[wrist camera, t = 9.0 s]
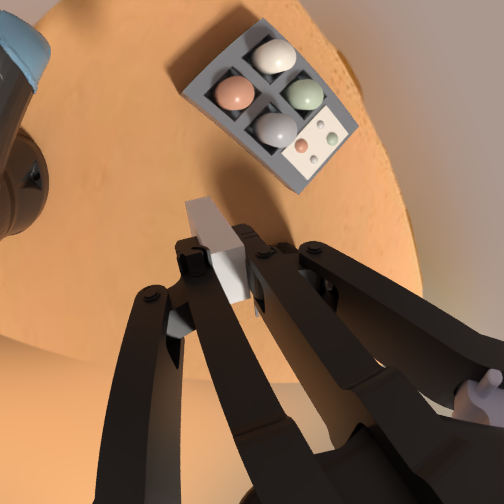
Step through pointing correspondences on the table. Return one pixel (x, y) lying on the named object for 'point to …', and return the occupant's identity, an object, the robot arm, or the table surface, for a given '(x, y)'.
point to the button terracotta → (233, 93)
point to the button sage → (303, 94)
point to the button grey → (275, 129)
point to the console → (274, 110)
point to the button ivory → (273, 57)
